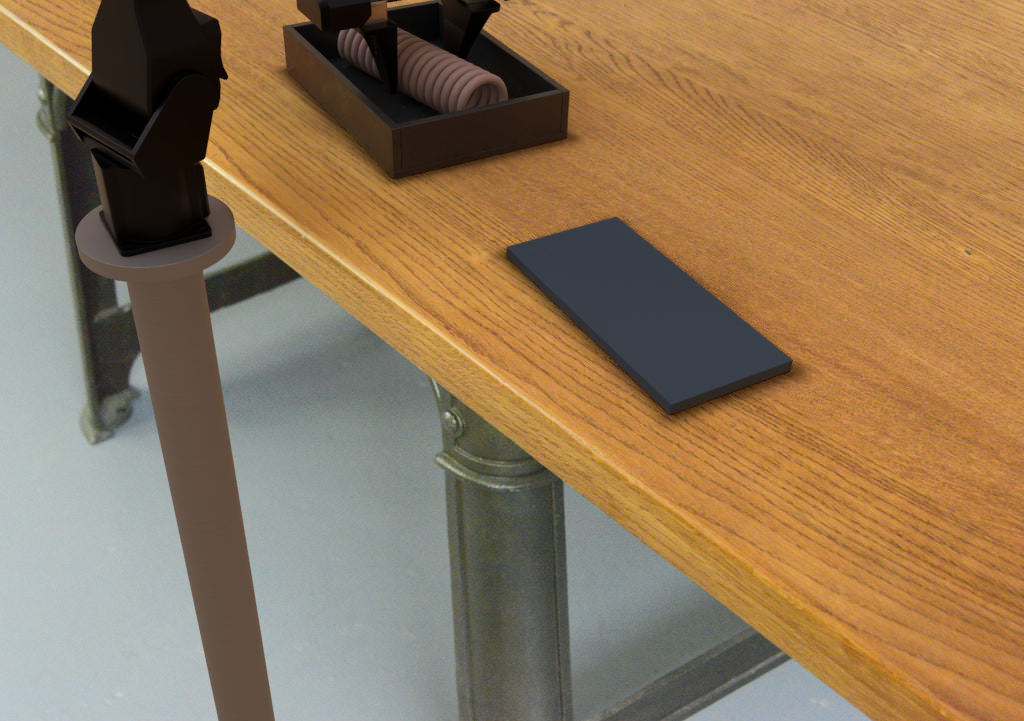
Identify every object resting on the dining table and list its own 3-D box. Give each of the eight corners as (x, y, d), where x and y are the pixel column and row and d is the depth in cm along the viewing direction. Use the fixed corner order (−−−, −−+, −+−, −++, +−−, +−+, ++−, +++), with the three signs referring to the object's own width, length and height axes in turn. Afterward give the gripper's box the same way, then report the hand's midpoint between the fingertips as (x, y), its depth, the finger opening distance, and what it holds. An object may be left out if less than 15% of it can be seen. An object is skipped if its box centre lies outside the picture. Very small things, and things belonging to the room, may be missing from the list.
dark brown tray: (393, 179, 87) (391, 129, 84) (286, 70, 102) (282, 25, 99) (567, 138, 93) (570, 90, 90) (441, 41, 108) (441, -2, 106)
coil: (330, 20, 98) (465, 90, 88) (373, 3, 100) (511, 69, 90) (338, 70, 101) (470, 143, 91) (380, 52, 104) (514, 121, 93)
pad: (669, 415, 66) (671, 404, 65) (505, 256, 78) (506, 246, 78) (791, 370, 69) (793, 359, 69) (615, 225, 82) (616, 216, 82)
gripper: (474, -145, 96) (473, 35, 106) (261, -120, 89) (280, 71, 98) (542, -111, 89) (534, 80, 98) (316, -80, 81) (331, 123, 91)
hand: (420, 86), depth 97 cm, fingers closed on coil, 5 cm apart
